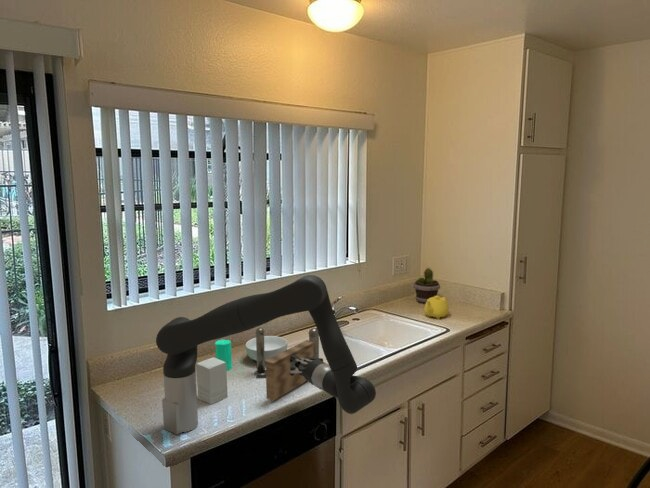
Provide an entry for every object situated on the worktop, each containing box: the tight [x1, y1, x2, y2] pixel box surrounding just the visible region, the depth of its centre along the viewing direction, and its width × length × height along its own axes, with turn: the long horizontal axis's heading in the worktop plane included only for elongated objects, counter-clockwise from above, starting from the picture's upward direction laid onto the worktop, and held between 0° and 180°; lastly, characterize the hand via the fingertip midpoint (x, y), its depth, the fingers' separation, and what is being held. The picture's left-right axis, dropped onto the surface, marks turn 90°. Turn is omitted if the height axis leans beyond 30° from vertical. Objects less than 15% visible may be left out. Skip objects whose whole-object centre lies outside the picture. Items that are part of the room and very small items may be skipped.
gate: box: [265, 339, 315, 401], centre depth 177 cm, size 23×4×13 cm, turn 146°
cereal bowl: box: [245, 335, 288, 362], centre depth 204 cm, size 17×17×7 cm
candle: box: [214, 339, 233, 372], centre depth 195 cm, size 6×6×12 cm
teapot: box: [423, 295, 450, 320], centre depth 259 cm, size 18×11×11 cm, turn 137°
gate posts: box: [253, 327, 320, 379], centre depth 188 cm, size 7×26×18 cm, turn 89°
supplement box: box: [195, 357, 229, 405], centre depth 171 cm, size 7×7×13 cm
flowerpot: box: [412, 265, 441, 305], centre depth 285 cm, size 14×15×20 cm
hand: (292, 358), depth 167 cm, fingers closed
